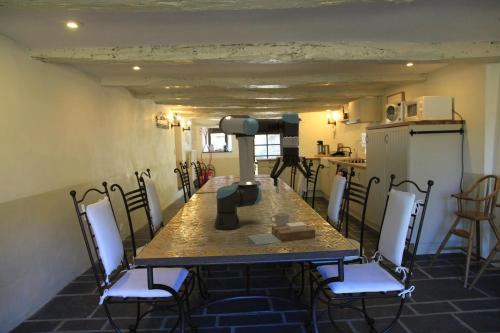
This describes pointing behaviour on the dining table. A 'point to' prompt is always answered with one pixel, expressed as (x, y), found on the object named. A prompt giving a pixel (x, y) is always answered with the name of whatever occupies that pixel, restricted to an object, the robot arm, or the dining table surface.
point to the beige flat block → (296, 226)
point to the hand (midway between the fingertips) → (291, 192)
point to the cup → (280, 218)
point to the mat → (264, 239)
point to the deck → (292, 233)
